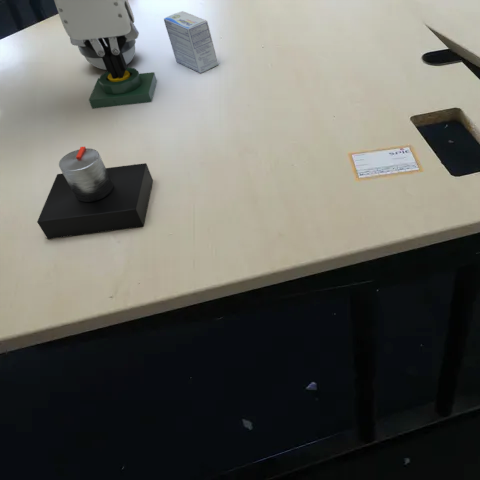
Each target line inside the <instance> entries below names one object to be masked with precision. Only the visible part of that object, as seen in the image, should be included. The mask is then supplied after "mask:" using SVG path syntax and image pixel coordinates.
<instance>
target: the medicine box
mask: <svg viewBox="0 0 480 480" xmlns="http://www.w3.org/2000/svg"><path fill="white" fill-rule="evenodd" d="M163 22H164V25H165V29H166V32H167V36H168V39H169V42H170V45H171V49H172V52H173V55H174V58H175V61H176V63H178V64H180V65H182V66H184V67H187V68H188V69H191V70H193V71H195V72H197V73H199V74H202V73H205V72H207V71H209V70H211V69H213V68H214V67H217V66H218V65H219V60H218V57H217V55H216V54H217V53H216V50H215V46H214V41H213V38H212V34H211V30H210V25H209V23H208V20H206V19H204V18H202V17H199V16H196V15H194V14H191V13H189V12H186V11H184V10H182V11H179V12H175V13H172V14H171V15H168V16H166V17H164V18H163Z"/></svg>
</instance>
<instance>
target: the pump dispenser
mask: <svg viewBox="0 0 480 480" xmlns="http://www.w3.org/2000/svg"><path fill="white" fill-rule="evenodd" d="M103 39H104V41H105V42H106V44H107V46H108V47H109V49H111V47H110V43H109V38H108V37H105V38H103ZM136 40H137V39H134V40H131V41H129V42H126V43H125V44H124V46H123V48H122V49H121V51H122V54H123V57H124V59H125V62H126V65H128V64H129V63H131V62H132V60H133V59H134V57H135V54H136ZM77 49H78V52H79V53H80V54H81V56H83V57H84V58H85V60H86V61H87V62H88V63H89V64H91V65H92V67H95V68H98V69H100V70H105V71H107V69H106V67H105V64H104V62H103V59H102V57H100V56H98V55H97V53H96V52H95V51H93V50H91V49H90V48H88V47H86V46H77Z"/></svg>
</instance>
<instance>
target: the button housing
mask: <svg viewBox="0 0 480 480" xmlns="http://www.w3.org/2000/svg"><path fill="white" fill-rule="evenodd" d="M126 71H128V72H129V73H130V77H129V78H128V79H126V80H123V81H119V82H110V81H109V79H108V75H109V74H110V72H108V71H107V70H106V72H104V73H102V74H101V75H100V77H98V78H97V79H96V82H95V84H94V86H93V88H92V91H91V94H90V96H89V98H88V102H89V103H90V106H91V109H92V110H93V109H101V108H111V107H118V106H119V107H120V106H128V105H129V106H130V105H137V104H146V103H152V102H153V97H154V95H155V91H156V86H157V82H158V79H157V76H156V73H155V72H154V71H152V72H151V71H150V72H143V73H140V72H139V70H137V68H135V67H129V66H127V70H126Z"/></svg>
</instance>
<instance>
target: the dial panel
mask: <svg viewBox="0 0 480 480" xmlns="http://www.w3.org/2000/svg"><path fill="white" fill-rule="evenodd" d="M105 168H106V170H107V172H108V174H109V176H110V178H111V181H112V183H113V189H112V191H111V192H110V193H109V194H108V195H107V196H105V197H104V198H102V199H99V200H96V201H92V202H82V201H79V200H78V199H77V198H76V197H75V195H74V193H73V191H72V190H71V188H70V186H69V184H68V182H67V180H66V178H65V176H64V175H63V173H57V174H56V176H55V179H54V181H53V182H52V186H51V187H50V190H49V193H48V195H47V196H46V197H47V198H46V200H45V202H44V204H43V207H42V210H41V211H40V214H39V217H38V219H37V221H36V223H37V224H38V226H39V227H40V229H41V231H42V232H43V234H44V236H45V237H46V238H47V240H52V239H58V238H59V239H60V238H67V237H73V236H74V237H75V236H83V235H88V234H89V235H90V234H97V233H104V232H105V233H106V232H113V231H120V230H128V229H136V228H142V227H144V226H145V221H146V215H147V211H148V206H149V201H150V197H151V191H152V186H153V181H154V179H153V177H152V174H151V172H150V169H149V166H148V164H147V163H146V162H144V163H137V164H129V165H120V166H119V165H118V166H112V167H105Z"/></svg>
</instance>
